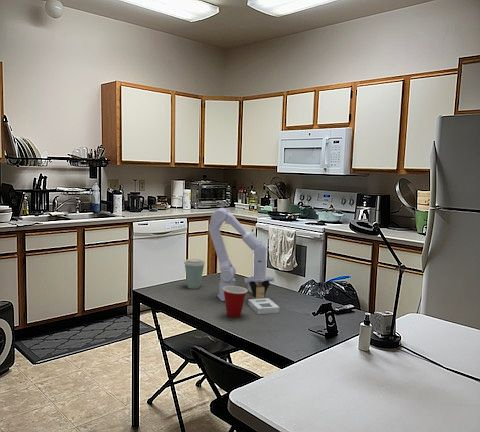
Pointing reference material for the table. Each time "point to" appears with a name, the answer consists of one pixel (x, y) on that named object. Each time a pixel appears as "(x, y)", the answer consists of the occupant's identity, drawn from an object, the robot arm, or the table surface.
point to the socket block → (263, 306)
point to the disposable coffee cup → (194, 272)
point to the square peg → (259, 292)
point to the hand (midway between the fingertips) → (258, 296)
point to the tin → (250, 286)
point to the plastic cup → (234, 300)
